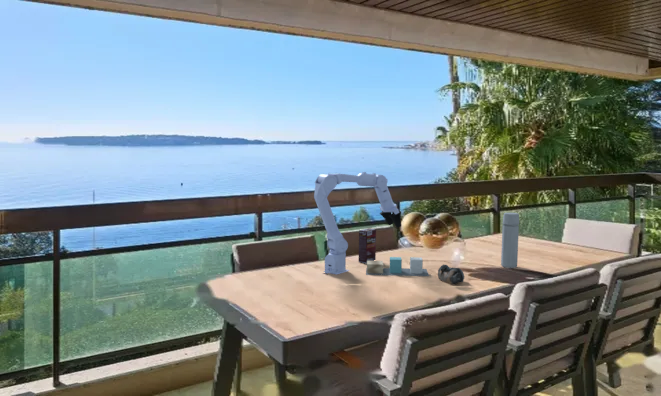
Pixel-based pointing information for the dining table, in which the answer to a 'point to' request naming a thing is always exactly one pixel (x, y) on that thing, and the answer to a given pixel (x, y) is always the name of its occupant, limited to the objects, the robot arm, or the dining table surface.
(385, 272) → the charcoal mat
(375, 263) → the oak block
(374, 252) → the supplement box
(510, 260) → the water bottle
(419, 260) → the light grey block
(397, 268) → the teal block
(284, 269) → the dining table surface
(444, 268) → the black rounded lump
